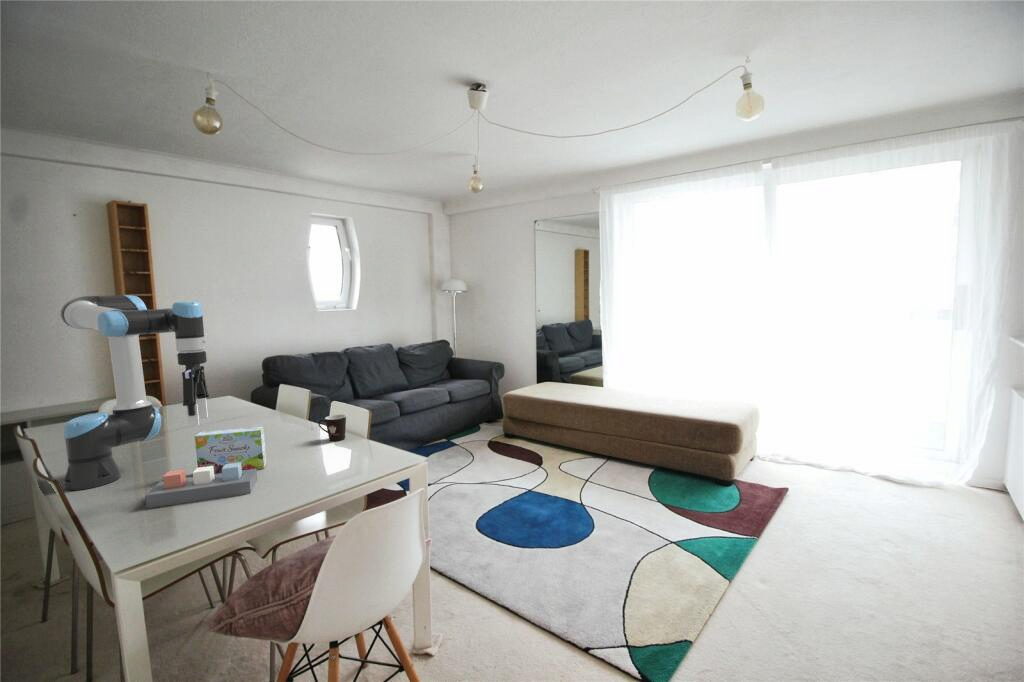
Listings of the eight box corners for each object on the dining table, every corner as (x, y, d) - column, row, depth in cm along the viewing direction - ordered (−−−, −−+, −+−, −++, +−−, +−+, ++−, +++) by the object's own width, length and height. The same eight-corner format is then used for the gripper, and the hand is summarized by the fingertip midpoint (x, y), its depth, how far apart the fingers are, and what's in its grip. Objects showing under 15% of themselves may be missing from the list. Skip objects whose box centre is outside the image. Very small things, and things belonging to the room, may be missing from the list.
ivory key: (194, 486, 152) (192, 472, 152) (198, 480, 156) (197, 467, 156) (210, 483, 153) (209, 470, 153) (214, 478, 158) (213, 465, 157)
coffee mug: (351, 438, 211) (350, 415, 210) (335, 443, 204) (333, 420, 203) (334, 434, 217) (333, 412, 216) (318, 439, 210) (316, 417, 209)
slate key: (222, 482, 154) (221, 468, 154) (226, 477, 159) (225, 464, 158) (239, 480, 156) (237, 466, 156) (242, 475, 160) (240, 462, 160)
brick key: (164, 490, 149) (162, 476, 149) (169, 484, 154) (168, 471, 153) (181, 487, 151) (180, 474, 150) (186, 482, 155) (184, 469, 155)
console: (146, 508, 145) (145, 495, 145) (161, 493, 156) (160, 481, 156) (250, 493, 154) (249, 481, 154) (257, 479, 165) (256, 468, 165)
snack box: (197, 477, 170) (193, 435, 168) (203, 471, 175) (199, 431, 174) (264, 469, 175) (260, 429, 174) (267, 464, 181) (264, 425, 179)
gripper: (194, 354, 142) (202, 429, 144) (214, 347, 162) (220, 412, 164) (164, 356, 139) (173, 432, 141) (188, 348, 160) (195, 415, 162)
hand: (198, 421), depth 153 cm, fingers open, 9 cm apart
